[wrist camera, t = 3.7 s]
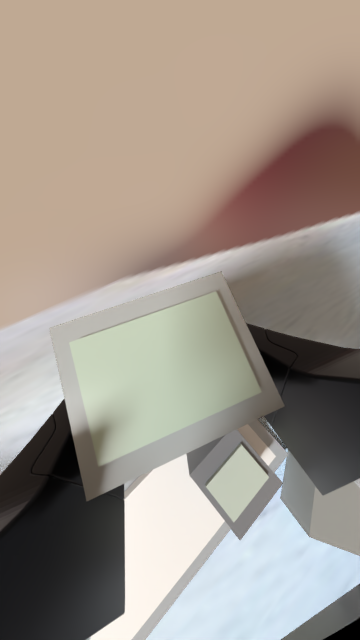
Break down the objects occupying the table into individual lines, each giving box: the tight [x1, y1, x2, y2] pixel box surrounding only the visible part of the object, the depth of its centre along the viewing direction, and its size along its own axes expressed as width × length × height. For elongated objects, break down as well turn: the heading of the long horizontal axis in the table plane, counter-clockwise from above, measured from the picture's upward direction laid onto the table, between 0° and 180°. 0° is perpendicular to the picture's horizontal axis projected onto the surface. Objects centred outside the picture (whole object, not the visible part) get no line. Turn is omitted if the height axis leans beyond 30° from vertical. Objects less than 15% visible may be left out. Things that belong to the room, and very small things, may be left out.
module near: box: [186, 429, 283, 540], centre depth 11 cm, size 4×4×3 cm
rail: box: [90, 419, 288, 640], centre depth 11 cm, size 9×28×1 cm, turn 132°
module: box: [49, 272, 285, 501], centre depth 9 cm, size 4×5×11 cm
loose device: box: [280, 450, 360, 556], centre depth 12 cm, size 7×4×3 cm, turn 71°
